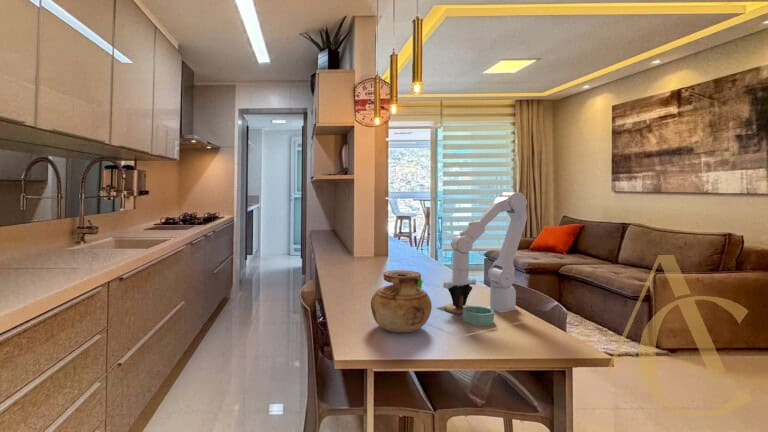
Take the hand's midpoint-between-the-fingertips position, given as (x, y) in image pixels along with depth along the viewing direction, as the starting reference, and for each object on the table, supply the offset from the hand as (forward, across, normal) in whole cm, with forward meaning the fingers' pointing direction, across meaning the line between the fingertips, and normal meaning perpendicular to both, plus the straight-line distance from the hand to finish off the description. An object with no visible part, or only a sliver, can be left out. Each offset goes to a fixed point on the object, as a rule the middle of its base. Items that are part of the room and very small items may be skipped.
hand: (459, 305), depth 151 cm
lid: (+2, 0, 0) cm, 2 cm away
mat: (+2, 0, 0) cm, 2 cm away
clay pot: (+2, +31, +6) cm, 31 cm away
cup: (+2, +15, -10) cm, 18 cm away
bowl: (+2, +4, +13) cm, 14 cm away
